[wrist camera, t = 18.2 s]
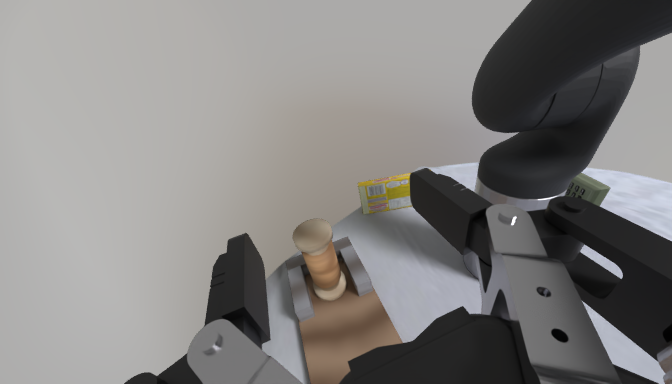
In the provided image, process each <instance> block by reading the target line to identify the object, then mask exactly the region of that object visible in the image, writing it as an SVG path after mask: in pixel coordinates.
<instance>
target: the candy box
mask: <svg viewBox="0 0 672 384" xmlns="http://www.w3.org/2000/svg"><path fill="white" fill-rule="evenodd" d="M429 170H430V169H429ZM410 174H411V173H408V174H403V175H397V176H392V177H387V178H382V179H376V180H371V181H366V182H360V183H358V188H359V193H360V199H361V204H362V211H363V214H370V213H376V212H382V211H388V210H393V209H399V208H405V207H411V206H412V204H411V201H410Z"/></svg>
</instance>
